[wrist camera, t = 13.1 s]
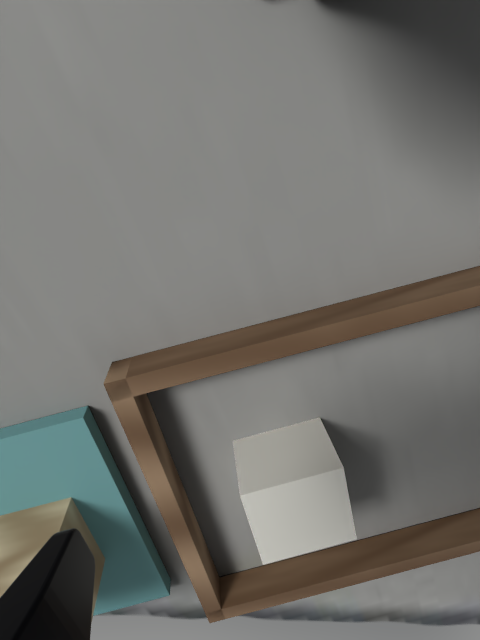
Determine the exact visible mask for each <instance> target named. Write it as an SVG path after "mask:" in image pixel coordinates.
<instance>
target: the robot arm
mask: <svg viewBox="0 0 480 640" xmlns="http://www.w3.org/2000/svg"><path fill="white" fill-rule="evenodd" d="M94 579H95V559H94V556H93V553H92V552H91V550H90V548H89V547H88V545H87V543H86V541H85V540H84V538H83V536H82V534H81V533H80V531H79V530H78V529H76V528H72V529H68V530H64V531H61V532H57V533H55V534H54V535H52V536H51V537H50V538H49V540H48V541H47V542H46V543H45V544H44V546H43V547H42V548H41V549H40V550H39V552H38V553H37V554H36V555H35V556H34V558H33V559H32V560H31V561H30V562H29V564H28V565H27V566H26V567H25V568H24V570H23V571H22V572H21V573H20V574H19V576H18V577H17V578H16V579H15V580H14V582H13V583H12V584H11V585H10V586H9V588H8V589H7V590H6V591H5V592H4V594H3V595H2V596H1V597H0V640H90V631H91V618H92V605H93V592H94Z"/></svg>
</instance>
